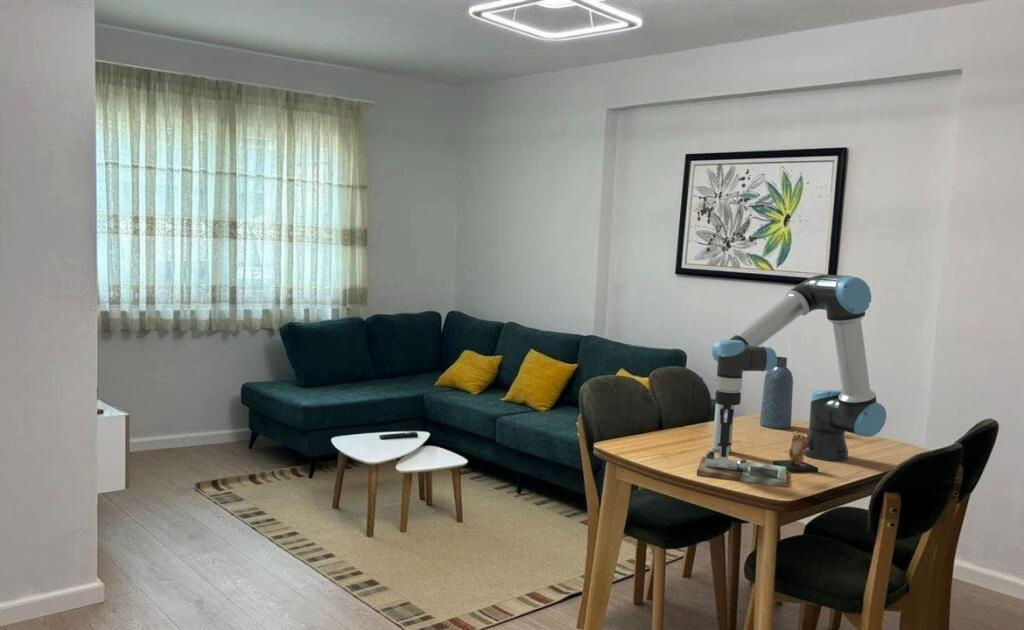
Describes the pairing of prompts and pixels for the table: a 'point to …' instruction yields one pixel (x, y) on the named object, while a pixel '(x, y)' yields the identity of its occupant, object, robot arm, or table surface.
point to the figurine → (797, 456)
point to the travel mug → (718, 429)
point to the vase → (777, 396)
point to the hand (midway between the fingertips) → (722, 466)
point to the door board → (747, 473)
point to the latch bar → (732, 464)
